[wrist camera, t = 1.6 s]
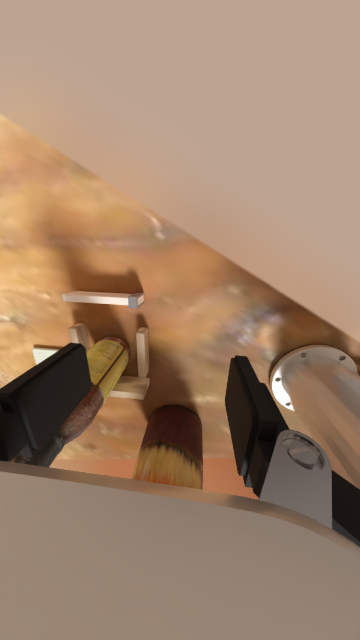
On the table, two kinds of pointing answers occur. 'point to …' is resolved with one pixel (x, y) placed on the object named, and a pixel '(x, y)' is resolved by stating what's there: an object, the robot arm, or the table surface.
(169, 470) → the vase
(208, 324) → the table surface
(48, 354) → the tile
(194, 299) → the table surface
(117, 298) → the bar
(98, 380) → the sauce bottle
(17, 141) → the table surface
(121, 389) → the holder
